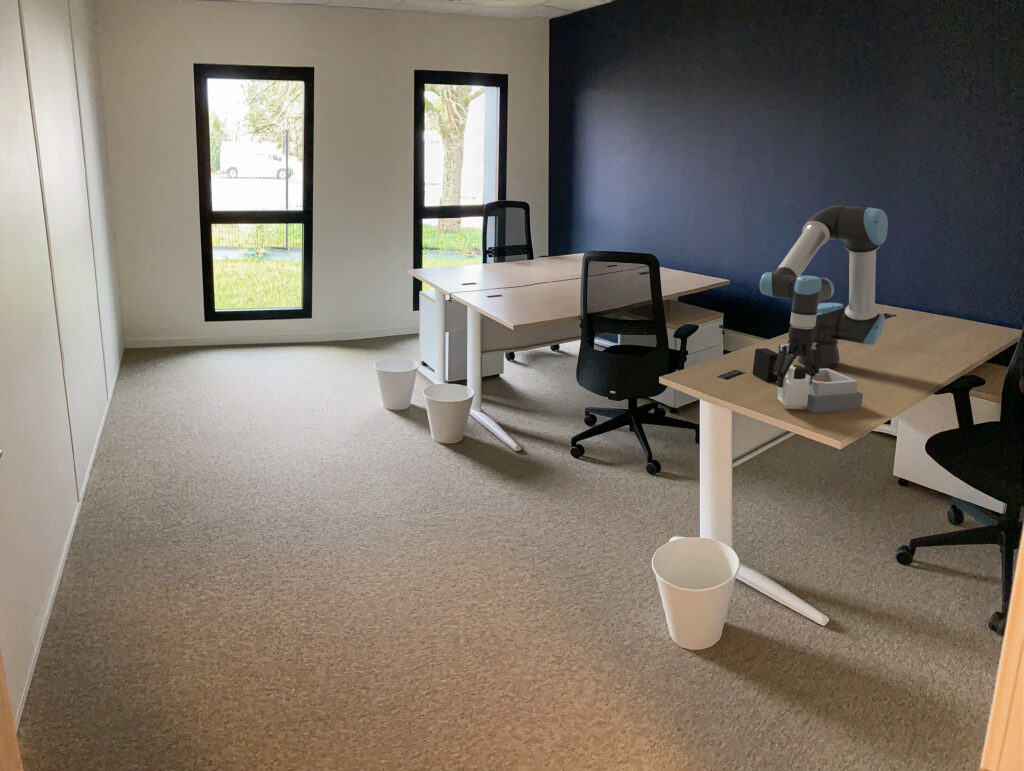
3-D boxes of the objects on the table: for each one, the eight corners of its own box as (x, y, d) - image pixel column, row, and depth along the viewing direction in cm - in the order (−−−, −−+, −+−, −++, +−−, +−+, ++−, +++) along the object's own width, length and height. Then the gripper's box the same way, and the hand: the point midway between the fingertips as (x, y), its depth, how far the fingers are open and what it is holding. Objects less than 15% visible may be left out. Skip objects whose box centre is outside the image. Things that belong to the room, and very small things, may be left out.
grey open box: (824, 392, 286) (828, 366, 283) (860, 408, 270) (865, 382, 267) (779, 395, 280) (783, 370, 278) (814, 413, 264) (817, 386, 261)
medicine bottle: (798, 399, 270) (803, 363, 266) (807, 406, 263) (812, 369, 260) (777, 398, 270) (781, 363, 266) (784, 406, 263) (789, 369, 259)
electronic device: (767, 382, 295) (770, 355, 292) (752, 374, 304) (755, 348, 301) (777, 382, 296) (781, 354, 293) (762, 374, 305) (765, 347, 302)
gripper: (822, 322, 266) (812, 389, 272) (766, 324, 259) (757, 394, 266) (838, 327, 259) (828, 397, 266) (780, 330, 252) (771, 401, 259)
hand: (792, 395), depth 266 cm, fingers closed on medicine bottle, 8 cm apart
